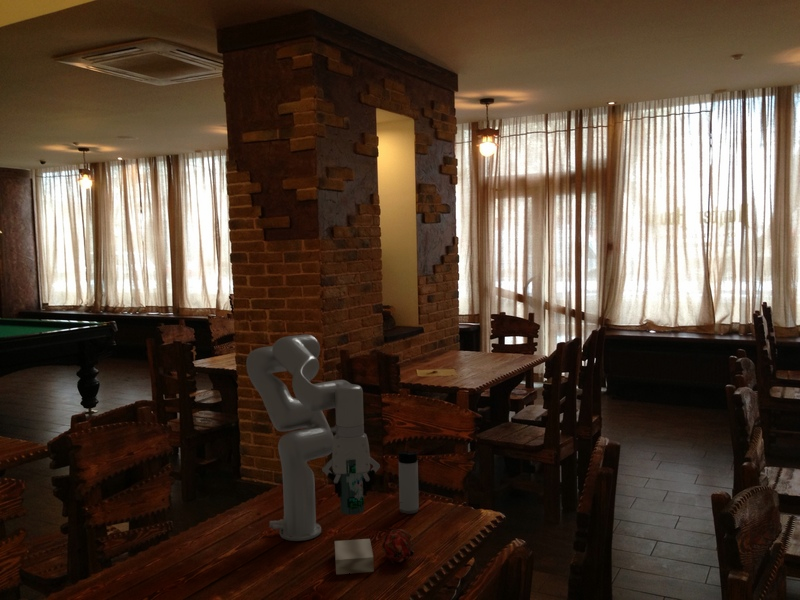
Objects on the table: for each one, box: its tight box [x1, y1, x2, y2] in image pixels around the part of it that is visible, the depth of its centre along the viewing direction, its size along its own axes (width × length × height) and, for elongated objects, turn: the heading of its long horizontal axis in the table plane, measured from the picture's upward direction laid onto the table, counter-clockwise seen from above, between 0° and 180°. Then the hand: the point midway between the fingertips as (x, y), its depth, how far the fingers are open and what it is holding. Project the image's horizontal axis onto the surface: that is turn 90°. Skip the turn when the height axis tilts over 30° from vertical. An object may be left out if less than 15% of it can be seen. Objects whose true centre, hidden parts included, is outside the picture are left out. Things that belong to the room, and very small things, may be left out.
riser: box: [334, 538, 375, 576], centre depth 192 cm, size 10×12×4 cm
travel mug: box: [398, 450, 420, 515], centre depth 228 cm, size 6×7×20 cm
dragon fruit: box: [381, 528, 415, 565], centre depth 193 cm, size 8×8×12 cm
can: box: [339, 459, 365, 516], centre depth 190 cm, size 6×6×15 cm
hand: (352, 494), depth 190 cm, fingers closed on can, 6 cm apart
